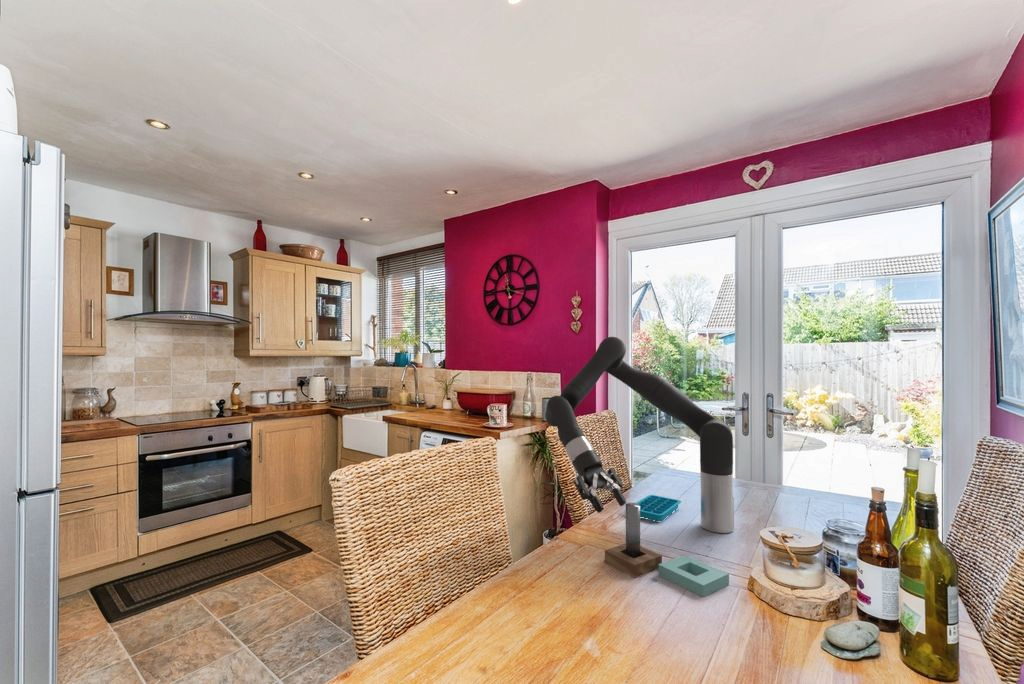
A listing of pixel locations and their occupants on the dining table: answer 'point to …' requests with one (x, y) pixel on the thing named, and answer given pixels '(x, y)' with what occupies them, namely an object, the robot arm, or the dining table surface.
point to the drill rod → (633, 530)
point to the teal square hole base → (700, 584)
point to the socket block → (633, 560)
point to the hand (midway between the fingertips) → (612, 507)
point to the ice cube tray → (657, 507)
